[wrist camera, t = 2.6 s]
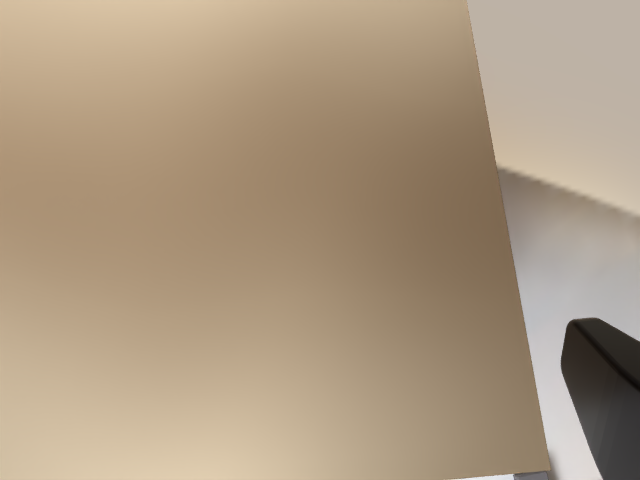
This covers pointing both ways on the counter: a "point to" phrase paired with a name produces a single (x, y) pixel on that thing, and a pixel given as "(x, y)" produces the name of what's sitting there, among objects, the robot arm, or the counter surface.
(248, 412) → the beech block
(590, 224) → the counter surface
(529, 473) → the mat
